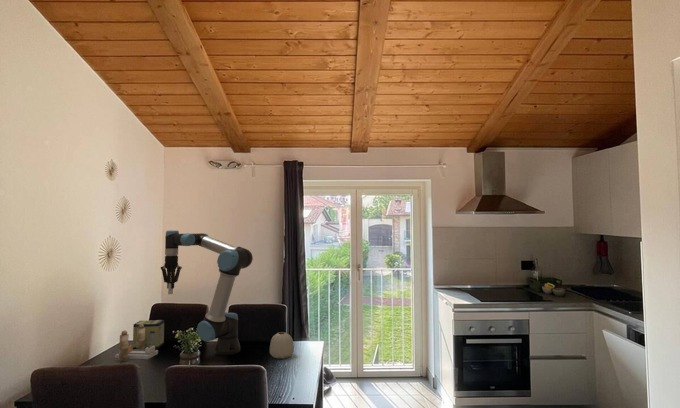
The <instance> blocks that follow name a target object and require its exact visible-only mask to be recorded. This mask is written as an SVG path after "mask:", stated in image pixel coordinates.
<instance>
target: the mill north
mask: <svg viewBox="0 0 680 408" xmlns="http://www.w3.org/2000/svg"><path fill="white" fill-rule="evenodd" d="M129 335H130V334H128V331H127V330H123V331H121V333H120V335H119V346H118V347H119V348H118V353H119V358H118V362H120V363H122V362H126V361H128V344H129Z"/></svg>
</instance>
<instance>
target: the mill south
mask: <svg viewBox="0 0 680 408" xmlns="http://www.w3.org/2000/svg"><path fill="white" fill-rule="evenodd" d="M136 350H145V327H144V325H143V324H140V325H139V328H137V347H136Z"/></svg>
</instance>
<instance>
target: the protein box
mask: <svg viewBox="0 0 680 408" xmlns="http://www.w3.org/2000/svg"><path fill="white" fill-rule="evenodd" d="M140 324H143V325H144V327H145V348H147V347H148V346H150V345H153V346H155V350H158V349H160V348H161V347H162V346H163V345H164V344H165V340H164V339H165V320H164V319H157V320H152V319H151V320H139V321H137V322H135V323H133V324H132V325H133V328H132V332H133V333H132V349H136V347H137V328H139V325H140Z"/></svg>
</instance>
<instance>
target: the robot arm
mask: <svg viewBox="0 0 680 408" xmlns="http://www.w3.org/2000/svg"><path fill="white" fill-rule="evenodd" d="M164 238H165V240H164V241H165V242H164V243H165V245H164V246H165V247H164V255H165V256H164V264H163V265H162V266H160V269H161V271H162V272H161V273H162V277H163V282H164V283H166V288H167V289H168V291H167V293H168V294H167V295H172V294H173V293H174V289H175V283H177V282H178V281H179V277H180V273H181V270H182V268H183V267H182V266H180V265H179V262H178V261H179V247H181V246H182V247H192V246H197V247H198V246H199V247H202V248H204V249H206V250H210V251H212V252H214V253H216V254H219V255H218V257H217V261H216V263H217V267H218V272H219V278H218V281H217V284H216V286H215V287H216V288H215V291H214V295H213V297H212V301H211V305H210V309H209V310H208V312H207V313H206V314H205V315H204V318H203V320H201V321H200V322H199V323H198V324H197V329H196V330H197V334H198V337H199V339H201V340H202V341H203V342H210V341H211V342H212V341H214V340H216V343H215V346H214V349H213V350H214V352H213V353H214V354H215V355H217V356H231V355H236V354H238V353H240V352H241V345H240V344H241V343H240V341H239V338H238V337H239V335H238V333H239V330H238V329H239V315H238V313H237V312H226V310H227V307H228V304H229V301H230V297H231V294H232V290H233V287H234V284H235V280H236V278H237V277H239V275H240V273H241V270H242V269H246V268H248V267H249V266H251V264H252V262H253V259H254V257H253V256H254V255H253V253H252V252H251V250H249V249H247V248H245V247H242V246H234V245H232V244H230V243H227V242H223V241H221V240H219V239H216V238H213V237H211V236H209V235H208V233H202V232H201V233H188V232H187V233H180V231H179V230H166V231H165V237H164Z"/></svg>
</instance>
